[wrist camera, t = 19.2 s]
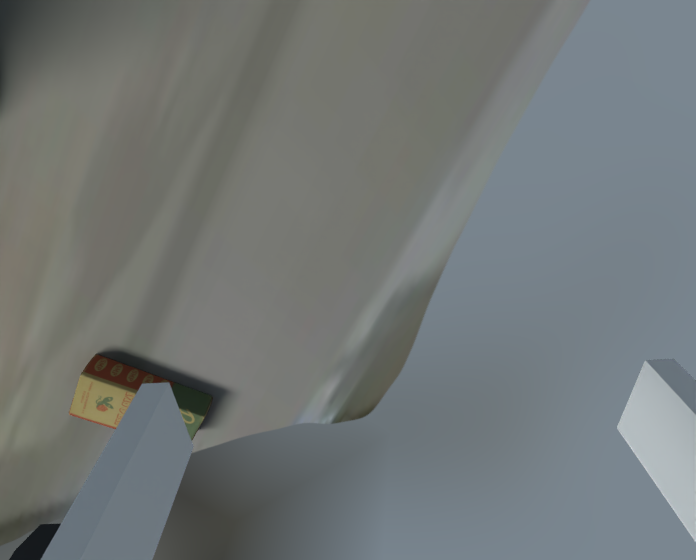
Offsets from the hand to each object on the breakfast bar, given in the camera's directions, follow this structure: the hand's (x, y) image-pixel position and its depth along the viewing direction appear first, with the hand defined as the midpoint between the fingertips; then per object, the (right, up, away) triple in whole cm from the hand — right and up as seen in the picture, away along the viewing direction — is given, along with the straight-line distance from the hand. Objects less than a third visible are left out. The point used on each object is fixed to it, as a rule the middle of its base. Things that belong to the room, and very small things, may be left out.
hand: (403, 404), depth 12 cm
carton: (-29, -12, +45) cm, 55 cm away
